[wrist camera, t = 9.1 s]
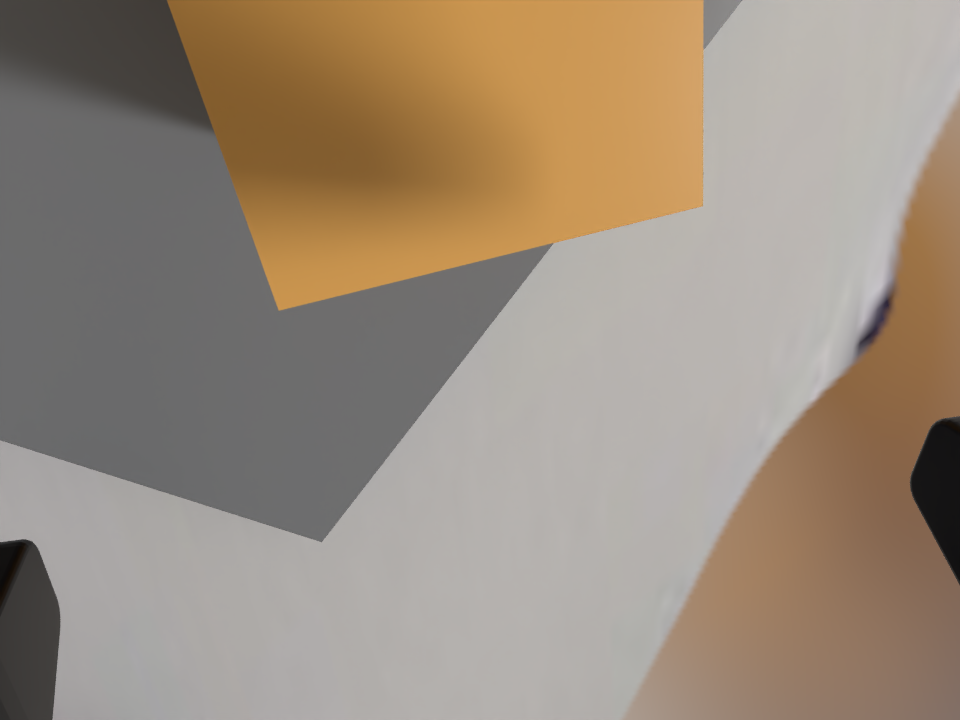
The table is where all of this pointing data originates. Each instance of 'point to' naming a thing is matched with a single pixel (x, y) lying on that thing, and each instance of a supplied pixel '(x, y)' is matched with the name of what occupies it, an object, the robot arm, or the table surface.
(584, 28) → the cardboard cube
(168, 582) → the table surface
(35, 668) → the robot arm
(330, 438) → the plate
